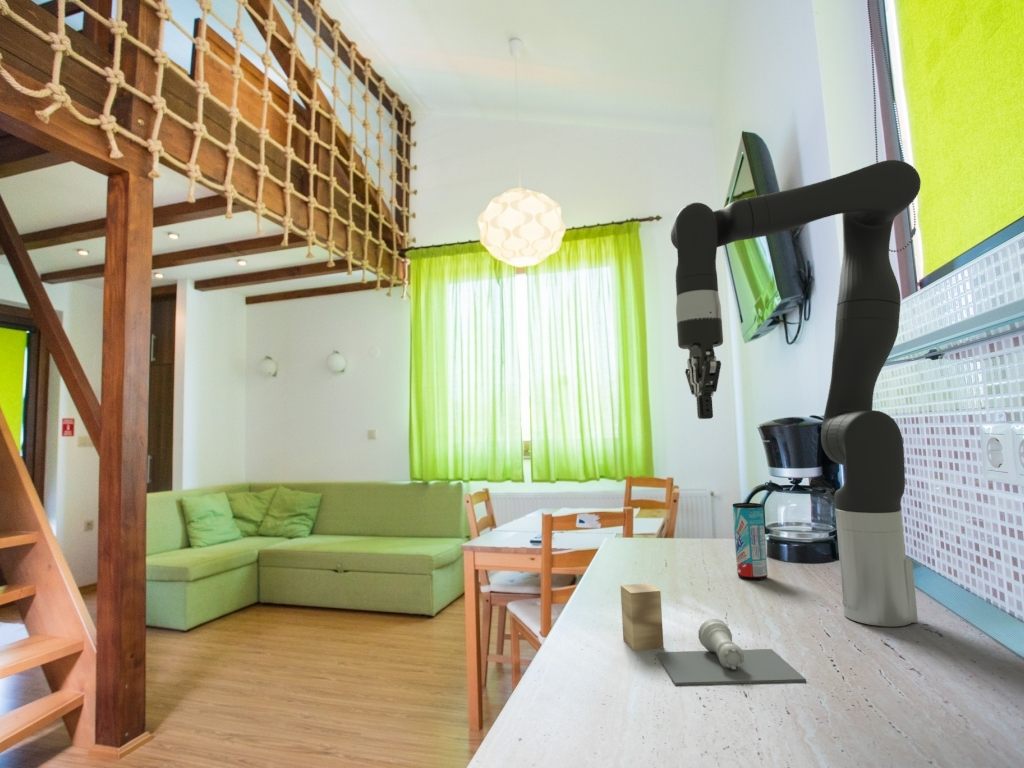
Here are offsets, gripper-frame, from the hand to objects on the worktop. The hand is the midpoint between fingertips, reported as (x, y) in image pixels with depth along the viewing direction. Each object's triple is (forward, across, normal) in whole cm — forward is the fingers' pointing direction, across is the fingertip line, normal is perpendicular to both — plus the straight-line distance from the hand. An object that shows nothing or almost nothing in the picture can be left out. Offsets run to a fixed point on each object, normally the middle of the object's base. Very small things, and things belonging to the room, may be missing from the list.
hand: (705, 418), depth 100 cm
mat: (+33, -22, +6) cm, 40 cm away
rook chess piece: (+30, -16, +6) cm, 35 cm away
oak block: (+33, -12, +15) cm, 38 cm away
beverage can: (+33, +24, -15) cm, 44 cm away
